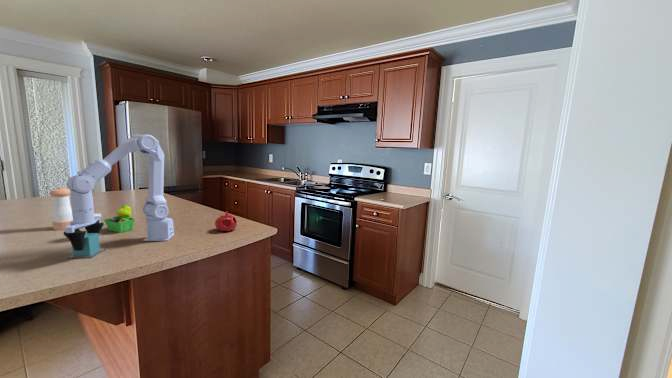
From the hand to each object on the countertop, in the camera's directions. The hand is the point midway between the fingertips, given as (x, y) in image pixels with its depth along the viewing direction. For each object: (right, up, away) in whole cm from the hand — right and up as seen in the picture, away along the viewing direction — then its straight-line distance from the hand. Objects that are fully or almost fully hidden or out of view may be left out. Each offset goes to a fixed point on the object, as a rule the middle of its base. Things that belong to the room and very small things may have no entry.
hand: (86, 246), depth 99 cm
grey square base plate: (0, -3, 0) cm, 3 cm away
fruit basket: (-10, +1, +30) cm, 32 cm away
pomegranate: (+36, 0, +35) cm, 51 cm away
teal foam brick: (0, -3, 0) cm, 3 cm away
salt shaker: (-37, +2, +29) cm, 47 cm away
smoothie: (-13, 0, +18) cm, 23 cm away
